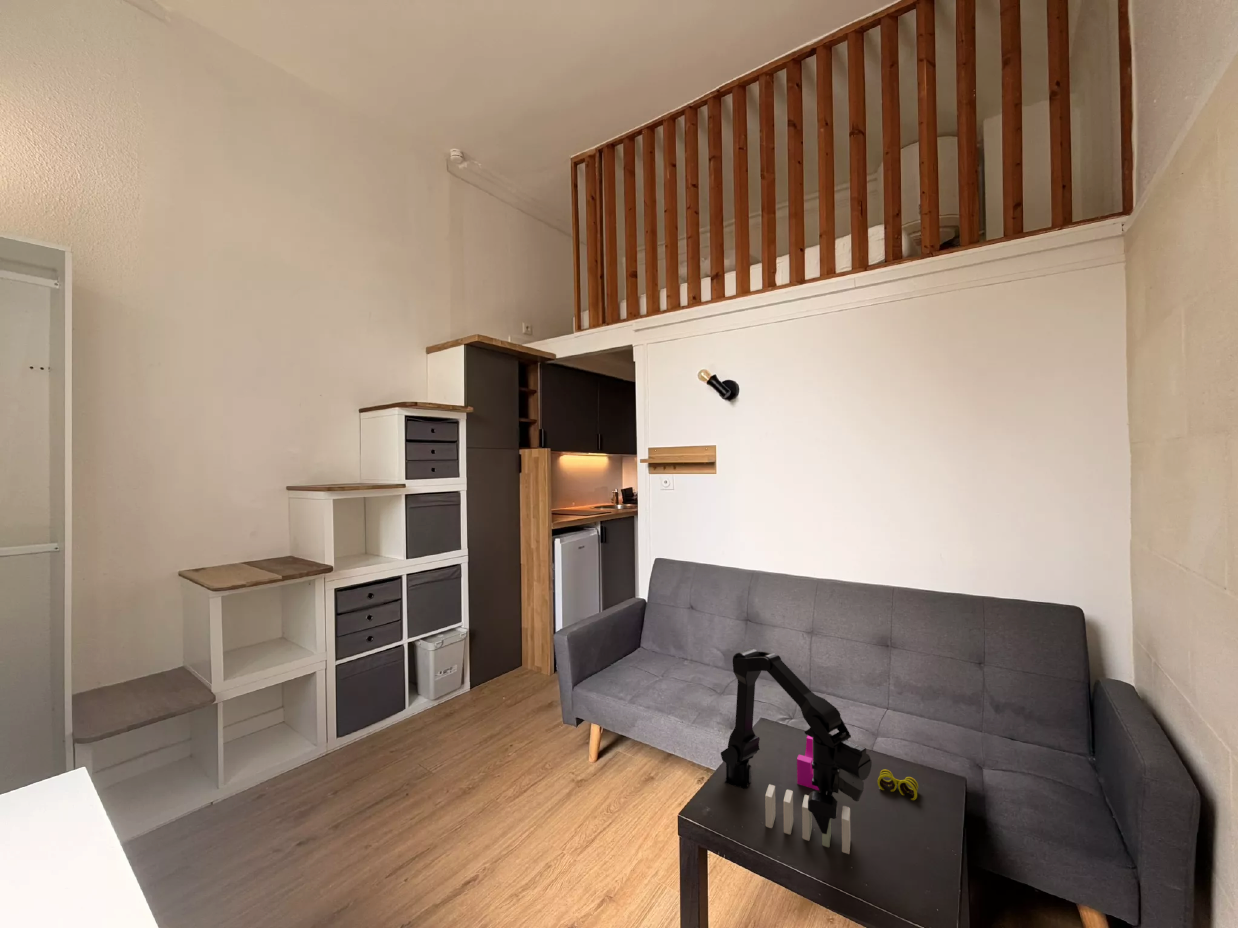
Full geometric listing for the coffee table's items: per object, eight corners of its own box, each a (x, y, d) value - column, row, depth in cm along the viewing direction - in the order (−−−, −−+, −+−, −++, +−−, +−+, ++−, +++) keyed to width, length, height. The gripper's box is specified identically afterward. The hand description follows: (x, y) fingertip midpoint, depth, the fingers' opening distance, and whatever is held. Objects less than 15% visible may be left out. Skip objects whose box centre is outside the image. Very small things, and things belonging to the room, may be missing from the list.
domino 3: (802, 838, 121) (801, 806, 122) (804, 825, 126) (804, 794, 126) (809, 840, 121) (808, 808, 121) (811, 827, 125) (811, 796, 125)
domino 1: (765, 826, 126) (764, 795, 126) (769, 813, 130) (768, 783, 130) (772, 828, 125) (771, 797, 125) (775, 815, 129) (775, 785, 129)
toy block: (820, 792, 139) (819, 765, 139) (797, 784, 142) (796, 758, 142) (829, 764, 151) (828, 740, 152) (808, 758, 155) (807, 734, 155)
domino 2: (783, 832, 124) (783, 800, 124) (786, 819, 128) (786, 789, 128) (790, 834, 123) (789, 802, 123) (793, 821, 127) (793, 790, 127)
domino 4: (841, 851, 117) (841, 818, 117) (843, 837, 122) (842, 805, 122) (849, 853, 116) (848, 820, 116) (850, 839, 121) (850, 807, 121)
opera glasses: (918, 793, 137) (918, 776, 137) (917, 804, 133) (916, 786, 133) (880, 781, 143) (879, 764, 143) (877, 791, 139) (877, 773, 139)
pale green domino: (821, 844, 119) (821, 812, 119) (823, 831, 124) (823, 799, 124) (829, 847, 119) (828, 814, 119) (831, 833, 123) (830, 801, 123)
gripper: (859, 790, 109) (860, 859, 109) (862, 747, 126) (863, 807, 126) (807, 775, 114) (808, 842, 114) (816, 736, 131) (817, 794, 131)
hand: (826, 820), depth 121 cm, fingers open, 9 cm apart
